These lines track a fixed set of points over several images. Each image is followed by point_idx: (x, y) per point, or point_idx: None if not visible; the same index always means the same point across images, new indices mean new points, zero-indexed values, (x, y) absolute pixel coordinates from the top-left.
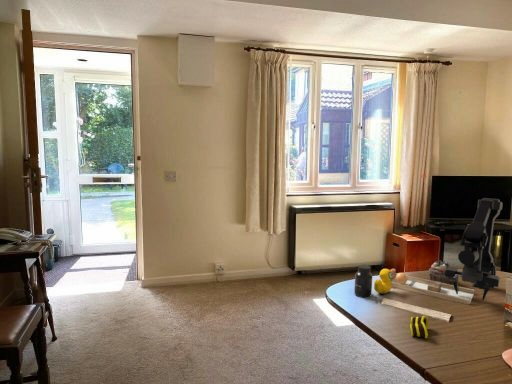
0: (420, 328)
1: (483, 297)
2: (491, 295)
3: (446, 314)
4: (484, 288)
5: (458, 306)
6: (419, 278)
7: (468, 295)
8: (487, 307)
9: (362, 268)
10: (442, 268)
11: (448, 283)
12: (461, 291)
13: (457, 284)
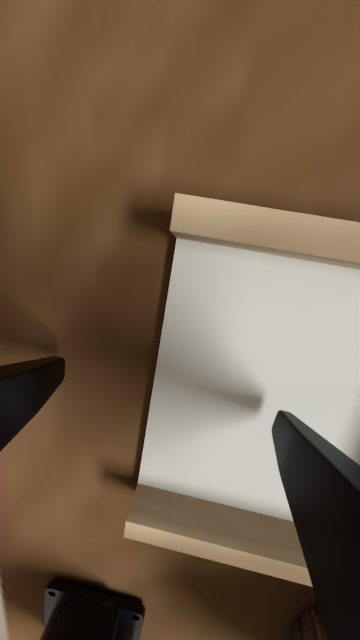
0: None
1: (36, 363)
2: (34, 508)
3: None
4: (72, 593)
5: (299, 98)
6: None
7: (176, 445)
8: (35, 247)
9: None
10: None
11: (305, 623)
12: (224, 506)
13: (347, 550)
